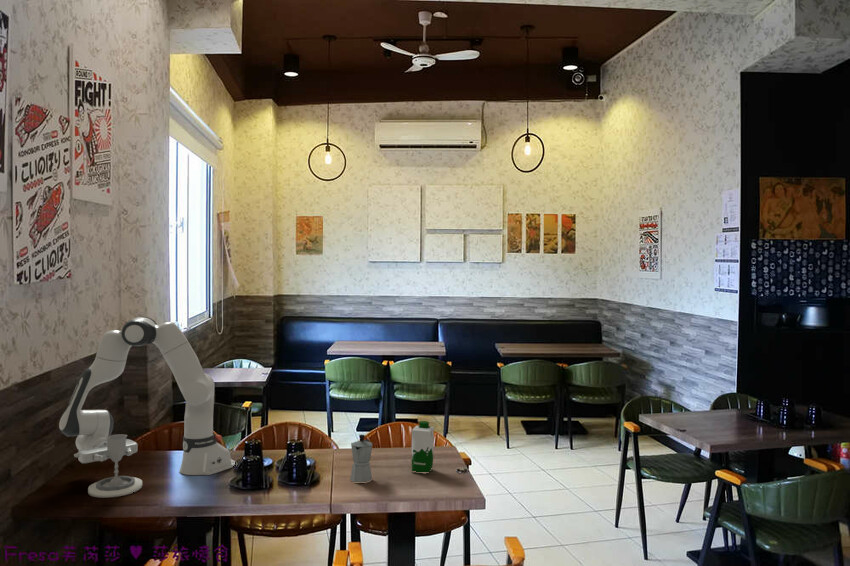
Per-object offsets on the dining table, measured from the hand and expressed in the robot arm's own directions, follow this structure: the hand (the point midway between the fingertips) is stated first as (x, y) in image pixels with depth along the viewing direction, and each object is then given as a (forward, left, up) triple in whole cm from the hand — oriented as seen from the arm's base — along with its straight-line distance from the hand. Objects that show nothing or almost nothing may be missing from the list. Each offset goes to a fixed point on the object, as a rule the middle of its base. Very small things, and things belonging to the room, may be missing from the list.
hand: (117, 456), depth 227 cm
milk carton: (-94, +69, -13) cm, 117 cm away
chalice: (0, -1, -11) cm, 11 cm away
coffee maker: (-70, +58, -13) cm, 92 cm away
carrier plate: (0, -1, -12) cm, 13 cm away
